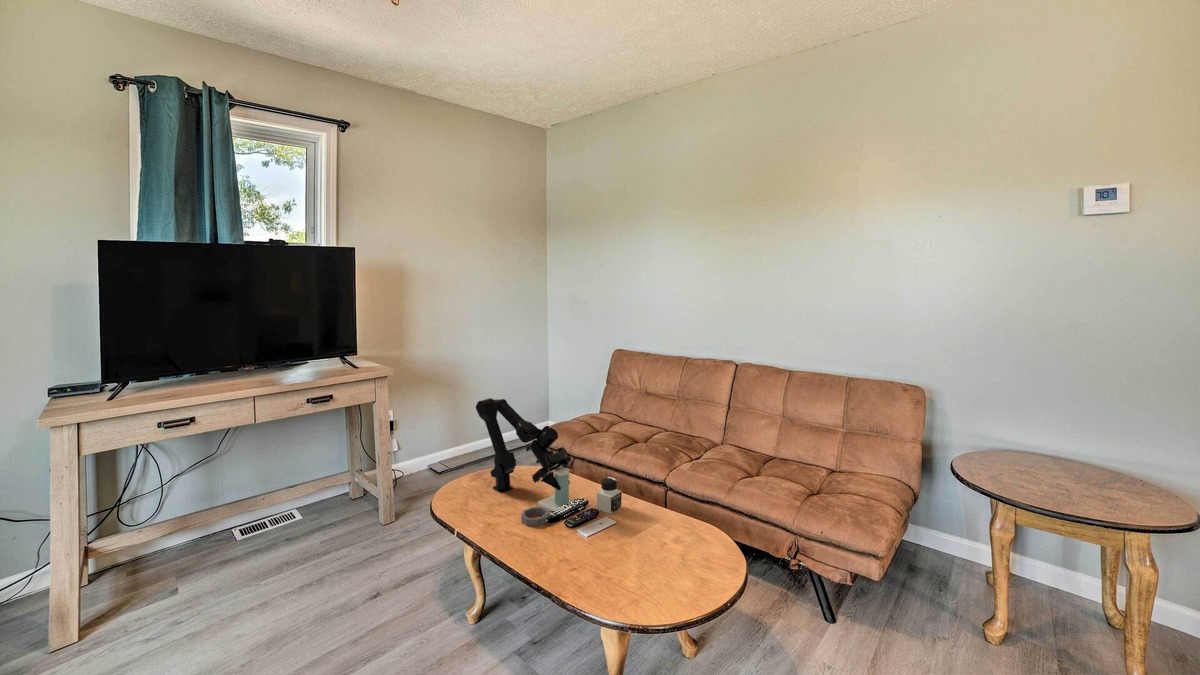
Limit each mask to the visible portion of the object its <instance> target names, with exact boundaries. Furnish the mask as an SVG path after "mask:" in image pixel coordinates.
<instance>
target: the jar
mask: <svg viewBox="0 0 1200 675" xmlns="http://www.w3.org/2000/svg"><path fill="white" fill-rule="evenodd" d="M553 472H554V477H555V479H556V481H557V482H558V484H559V486H560V488H561V489H560V490H557V489H556V488H554V495H555V504H557V505H561V506H562V505H567V504H568V503H569V500H570V484H569V481H570V469H569V468H564V467H561V468H556V469H555V470H553Z"/></svg>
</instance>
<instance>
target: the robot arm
mask: <svg viewBox="0 0 1200 675" xmlns="http://www.w3.org/2000/svg"><path fill="white" fill-rule="evenodd" d="M475 410H476V413H477V415H478V417H479V418H480V419H482V420H483V421H484V423H485V425H486V426H485V427H486V428H487V433H488V435H489V438H490V441H491V444H492V447H493V451H494V454H495V456H494V461H493V463H494V468H492V469H491V471H490V472H489V473H490V475H491V477H492V478H494V479H495V485H494V486H492V489H494V490H495V491H497V492H499V493H503V492H507V491H509V490H512V489H514V487H513V485H511V475H510V474H512V473H514V472H515V471H514V470H515V469H516V466H517V460H516V458H515V453H514V452H513V451H512V452H510V451H509V450H508V449H507V446H506V443H505V440H504V437H503V434H502V431H501V428H500V427H501V426H500V425H499V421H498V419H497V417H498V416H497V415H498V413H499V414H500V415H501V416H502V417H503V418H504V419H505V420H506V421H507V422H508V423H509V424H510V425H511V426H512V427H513V428H514V429H515V434H516V436H517V438H519V440H520V441H521V442H522V443H524V444H526V449H525V450H526V452H529V451H531V452H532V454H533V455H534V457H535V458H536V461H535V463H536V464H540V466H541V468H539V469H538V470H537V471H536V472H535V473H533V474H532V476H531V477H532V481H533V483H534V484H536V483H538V482H541V483H545V484H546V485H548V486H551V487H552V488H554V489H555V488H556V489H557V490H560V489H561V488H560V486H559V484H558V482H557V481H556V479H555V474H554V470H555V469H556V468H561V467H564V468H567V467H568V466H569V464H570V462H572V458H571V457H570V456H569V455H567V454H568V452H567V450H566V449H565V447H564V446H561V447H559V448H557V451H555V452H554V451H553V450H552V449H551V450H550V449H549V448H550V447H551V446H552V445H553V444H554V443H555V442H556V441H557V440H558V439H559V434H558V431H557V430H555V429H554V428H552V427H550V426H549V425H545V426H544V427H543V428H542V429H541V428H538V427H537V426H536V425H535V424H533V423H532V422H531V421H528V420H525V419H524V418H522V417H521V415H519V413H518V412H517V411H516V410H515V409H514V408H513V407H512V406H511V405H510V404H509V403H508V401H507V400H506V399H504V398H501V399H499V398H498V399H497V398H496V399H493V398H492V397H491V398H485V399H482V400H479V401H477V403H476V405H475ZM531 441H532V442H531ZM570 484H571V482H570V480H569V485H570Z"/></svg>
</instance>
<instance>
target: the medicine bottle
mask: <svg viewBox="0 0 1200 675" xmlns="http://www.w3.org/2000/svg"><path fill="white" fill-rule="evenodd" d="M600 483H601V489H600V490H597V492H596V510H597V509H599V510H598V511H600V510H601V512H603V513H606V514H608V513H609V515H612V514H614V513H615V512H617V511H619V510H620V509H621V508H622V494H623V493H622V490H620V489H618V481H617V478H614V477H611V476H610V477H609V476H608V477H607V476H606V477H604V478H603V479H601V482H600Z"/></svg>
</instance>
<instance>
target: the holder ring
mask: <svg viewBox="0 0 1200 675" xmlns="http://www.w3.org/2000/svg"><path fill="white" fill-rule="evenodd" d="M533 515H535V516H536V515H537V516H538V515H539V517H530V516H533ZM543 515H544V516H543ZM547 517H548V518H549V510H547V509H545V508H543V507H542V506H531V507H529V508H528V507H527V508H526V509H523V510H522V513H521V523H522V524H524V525H525V526H527V527H540V526H543V525H544V524H546V523H545V522H546V520H547Z"/></svg>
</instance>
